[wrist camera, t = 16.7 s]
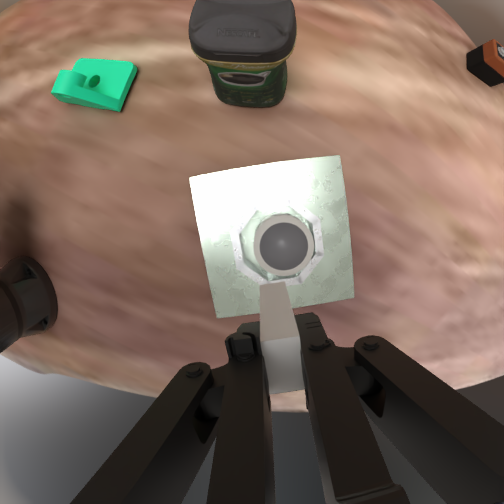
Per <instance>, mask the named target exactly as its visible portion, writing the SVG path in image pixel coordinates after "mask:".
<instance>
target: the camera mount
mask: <svg viewBox="0 0 504 504" xmlns="http://www.w3.org/2000/svg"><path fill="white" fill-rule="evenodd" d="M136 72H137V67H136V66H135V65H134V64H133V63H132V62H127V61H117V60H105V59H86V58H81V59H79V60H77V62H76V63H75V65H74V67H73V69H72V71H70V70H60V72H59V74H58V77H57V79H56V81H55V84H54V86H53V89H52V91H51V94H52V95H53V96H55V97H56V98H57V99H58V100H59V101H62V102H65V103H72V104H79V105H82V106H87V107H93V108H99V109H108V110H113V111H118V112H120V110H121V108H122V105H123V103H124V100H125V98H126V95H127V93H128V91H129V88H130V86H131V84H132V81H133V79H134V77H135V75H136ZM99 81H100V82H99ZM98 82H99V84H98ZM97 84H98V85H97Z"/></svg>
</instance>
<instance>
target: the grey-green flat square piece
mask: <svg viewBox="0 0 504 504" xmlns="http://www.w3.org/2000/svg"><path fill="white" fill-rule="evenodd" d="M190 184H191V190H192V196H193V202H194V208H195V213H196V219H197V224H198V229H199V235H200V240H201V245H202V250H203V255H204V260H205V265H206V270H207V275H208V280H209V284H210V289H211V294H212V298H213V303H214V307H215V312H216V316H217V318H225V317H233V316H241V315H249V314H256V313H260V291H259V285H263V284H270V283H277V282H283V281H285V284H286V288H287V291H288V295H289V299H290V302H291V306H292V308H297V307H304V306H310V305H316V304H322V303H327V302H333V301H339V300H344V299H349V298H354V281H353V265H352V251H351V240H350V229H349V219H348V210H347V202H346V194H345V187H344V180H343V173H342V166H341V160H340V155H335V156H325V157H316V158H307V159H298V160H291V161H283V162H276V163H269V164H262V165H256V166H250V167H243V168H238V169H232V170H226V171H221V172H215V173H210V174H205V175H200V176H195V177H190ZM280 212H282V213H288V214H291V215H293V216H295V217H297V218H298V219H299V220H300V221H301V222H303V223H304V224H305V225H306V226H307V227H308V229H309V230H310V232H311V234H312V237H313V241H314V251H313V255H312V258H311V260H310V261H309V263H308V264H307V265H306V267H305V268H303V269H302V270H301V271H299V272H297V273H295V274H293V275H289V276H278V275H274V274H271V273H269V272H267V271H266V270H265V269H263V268H262V267H261V266H260V264H259V263H258V262H257V260H256V257H255V255H254V249H253V244H254V236H255V231H256V229H257V227H258V225H259V223H260V222H261V221H262V220H263V219H264V218H265V217H267V216H269V215H271V214H274V213H280Z"/></svg>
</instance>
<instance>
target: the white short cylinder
mask: <svg viewBox="0 0 504 504" xmlns="http://www.w3.org/2000/svg"><path fill="white" fill-rule="evenodd" d="M253 249H254V255H255V257H256V260H257V262H258V263H259V264H260V266H261V267H262V268H263V269H265V270H266V271H267V272H269V273H271V274H274V275H278V276H289V275H293V274H295V273H297V272H299V271H301V270H302V269H303V268H305V267H306V265H307V264H308V263H309V261H310V260H311V258H312V255H313V251H314V241H313V237H312V234H311V232H310V230H309V229H308V227H307V226H306V225H305V224H304V223H303V222H301V221H300V220H299V219H298V218H297V217H295V216H293V215H291V214H288V213H282V212H280V213H274V214H271V215H269V216H267V217H265V218H264V219H263V220H262V221H261V222H260V223H259V225H258V227H257V229H256V231H255V236H254V244H253Z"/></svg>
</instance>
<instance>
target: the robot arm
mask: <svg viewBox="0 0 504 504" xmlns="http://www.w3.org/2000/svg"><path fill="white" fill-rule="evenodd" d="M259 291H260V321H258V322H251V323H243V324H241V326H240V327H239V328H238V329H237V332H236V333H234V334H231V335H230V336H228V337H227V338H226V340H225V345H226V349H227V353H228V357H229V361H228V363H227V364H226V365H224V366H221V367H218V368H215V369H211V368H210V366H209V365H208V364H206V363H202V362H195V363H190V364H188V365H186V366H184V367H182V368H181V369H180V370H179V371H178V373H177V374H176V375H175V376H174V378H173V379H172V380H171V381H170V383H169V384H168V385H167V386H166V388H165V389H164V390H163V391H162V393H161V394H160V395H159V396H158V398H157V399H156V400H155V401H154V403H153V404H152V405H151V406H150V408H149V409H148V410H147V411H146V413H145V414H144V415H143V416H142V417H141V419H140V420H139V421H138V422H137V424H136V425H135V426H134V427H133V429H132V430H131V431H130V432H129V433H128V435H127V436H126V437H125V438H124V440H123V441H122V442H121V443H120V444H119V446H118V447H117V448H116V449H115V450H114V452H113V453H112V455H110V457H109V458H108V459H107V460H106V462H105V463H104V464H103V465H102V466H101V467H100V469H99V470H98V471H97V472H96V474H95V475H94V476H93V477H92V478H91V479H90V481H89V482H88V483H87V484H86V485H85V487H84V488H83V489H82V490H81V491H80V492H79V494H78V495H77V496H76V497H75V499H73V501H72V502H71V503H70V504H181V503H182V501H183V499H184V497H185V496H186V493H187V492H188V490H189V488H190V486H191V484H192V483H193V481H194V479H195V477H196V474H197V473H198V471H199V469H200V467H201V465H202V463H203V462H204V460H205V457H206V456H207V454H208V452H209V449H210V448H211V446H212V444H213V442H214V440H215V438H216V444H215V451H214V457H213V464H212V470H211V476H210V484H209V490H208V496H207V504H276V497H275V475H274V454H273V435H272V418H271V417H272V416H271V401H270V395H269V394H277V393H284V392H291V391H297V390H304V389H305V395H306V407H307V409H308V411H309V416H310V421H311V425H312V431H313V436H314V442H315V447H316V452H317V457H318V463H319V468H320V474H321V479H322V484H323V490H324V496H325V501H326V504H410V502H409V499H408V497H407V494H406V492H405V490H404V489H403V487H402V486H401V485H398V484H394V483H393V481H392V479H391V477H390V474H389V472H388V469H387V466H386V464H385V462H384V459H383V456H382V454H381V451H380V449H379V447H378V444H377V441H376V439H375V436H374V434H373V431H372V429H371V427H370V424H369V422H368V419H367V417H366V415H365V413H366V414H367V415H368V416H369V417H370V418H371V419H372V421H373V422H374V423H375V424H376V425H377V426H378V428H379V429H380V430H381V431H382V432H383V433H384V434H385V435H386V437H387V438H388V439H389V440H390V441H391V442H392V443H393V445H394V446H395V447H396V448H397V449H398V450H399V451H400V453H401V454H402V455H403V456H404V457H405V458H406V459H407V460H408V462H409V463H410V464H411V465H412V466H413V467H414V468H415V469H416V470H417V472H418V473H419V474H420V475H421V476H422V477H423V478H424V479H425V480H426V482H427V483H428V484H429V485H430V486H431V487H432V488H433V489H434V490H435V491H436V493H437V494H439V496H440V497H441V498H442V499H443V500H444V501H445V502H446V503H447V504H504V426H503V425H502V424H500V423H499V422H497V421H496V420H495V419H494V418H492V417H491V416H490V415H488V414H487V413H486V412H484V411H483V410H481V409H480V408H479V407H477V406H476V405H475V404H473V403H472V402H471V401H469V400H468V399H467V398H465V397H464V396H462V395H461V394H460V393H458V392H457V391H456V390H454V389H453V388H452V387H450V386H449V385H447V384H446V383H445V382H443V381H442V380H441V379H439V378H438V377H436V376H435V375H434V374H432V373H431V372H430V371H428V370H427V369H425V368H424V367H423V366H421V365H420V364H419V363H417V362H416V361H414V360H413V359H412V358H410V357H409V356H408V355H406V354H405V353H403V352H402V351H401V350H399V349H398V348H397V347H395V346H394V345H392V344H391V343H390V342H388V341H387V340H385V339H384V338H382V337H379V336H374V335H371V336H365V337H362V338H360V339H358V340H357V341H356V342H355V344H354V347H350V348H345V347H338V346H335V344H334V342H333V341H332V340H331V339H328V338H327V335H326V333H325V331H324V328H323V326H322V324H321V322H320V319H319V317H318V316H317V315H315V314H314V313H312V312H311V313H305V314H299V315H294V313H293V310H292V306H291V302H290V299H289V295H288V291H287V288H286V284H285V281H283V282H277V283H270V284H263V285H259ZM56 316H57V300H56V295H55V292H54V289H53V286H52V284H51V281H50V279H49V277H48V276H47V274H46V272H45V271H44V270H43V268H42V267H41V266H40V265H39V264H38V263H37V262H36V261H35V260H33V259H32V258H30V257H27V256H20V257H17V258H15V259H12V260H10V261H9V262H8V263H7V264H6V265H5V266H4V267H3V268H2V269H1V270H0V353H1V352H3V351H4V350H5V349H6V348H8V347H9V346H10V345H12V344H13V343H14V342H15V341H17V340H18V339H19V338H21V337H26V336H31V335H36V334H41V333H43V332H45V331H46V330H48V329H49V328H50V327H51V326H52V325H53V324H54V322H55V320H56ZM364 411H365V412H364ZM216 436H217V437H216Z"/></svg>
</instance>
